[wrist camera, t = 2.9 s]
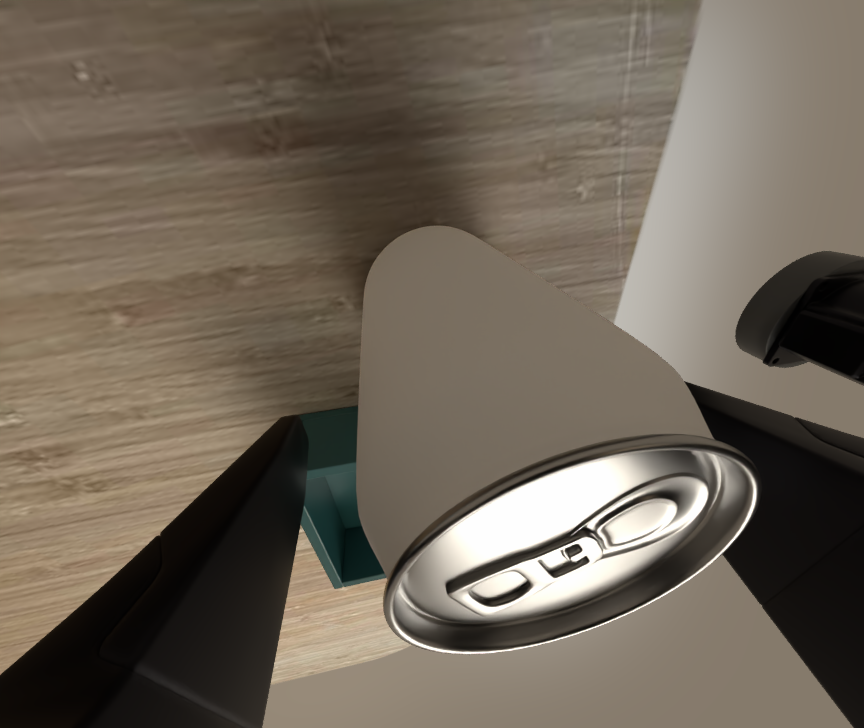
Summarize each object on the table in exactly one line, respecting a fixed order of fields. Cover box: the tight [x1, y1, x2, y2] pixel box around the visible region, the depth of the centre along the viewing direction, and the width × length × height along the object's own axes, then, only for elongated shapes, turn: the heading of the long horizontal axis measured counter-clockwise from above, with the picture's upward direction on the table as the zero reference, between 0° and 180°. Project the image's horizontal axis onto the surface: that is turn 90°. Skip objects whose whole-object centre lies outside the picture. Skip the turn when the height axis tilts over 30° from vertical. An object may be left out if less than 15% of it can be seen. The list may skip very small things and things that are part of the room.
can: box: [356, 226, 762, 654], centre depth 10 cm, size 6×6×12 cm
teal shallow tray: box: [298, 406, 387, 589], centre depth 19 cm, size 11×11×4 cm
